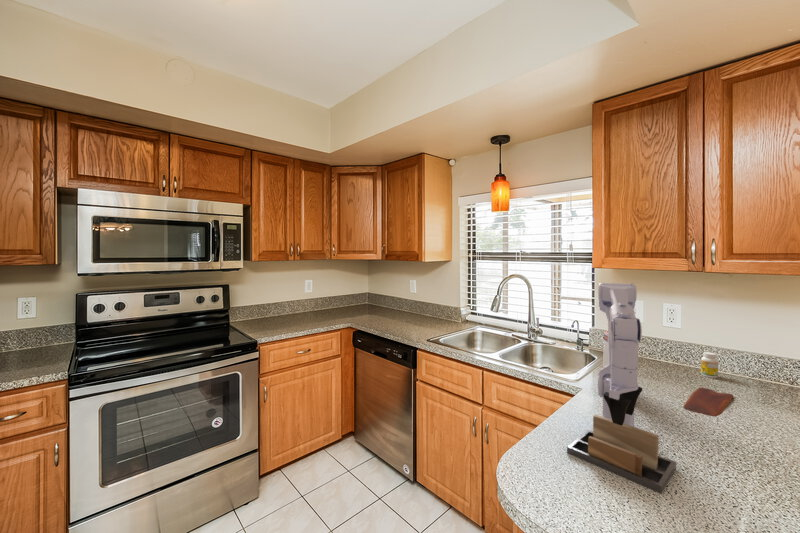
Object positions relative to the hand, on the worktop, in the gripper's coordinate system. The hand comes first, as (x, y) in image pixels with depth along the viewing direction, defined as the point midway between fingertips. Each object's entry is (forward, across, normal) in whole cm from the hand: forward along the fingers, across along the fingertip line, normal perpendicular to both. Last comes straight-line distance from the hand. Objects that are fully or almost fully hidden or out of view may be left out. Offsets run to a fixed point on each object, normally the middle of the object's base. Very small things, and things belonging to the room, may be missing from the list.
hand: (622, 418), depth 88 cm
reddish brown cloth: (+11, -59, +9) cm, 61 cm away
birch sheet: (+10, 0, 0) cm, 10 cm away
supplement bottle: (+11, -92, +6) cm, 93 cm away
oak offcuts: (+10, +6, 0) cm, 12 cm away
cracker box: (+11, -48, -15) cm, 51 cm away
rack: (+10, +3, 0) cm, 11 cm away
